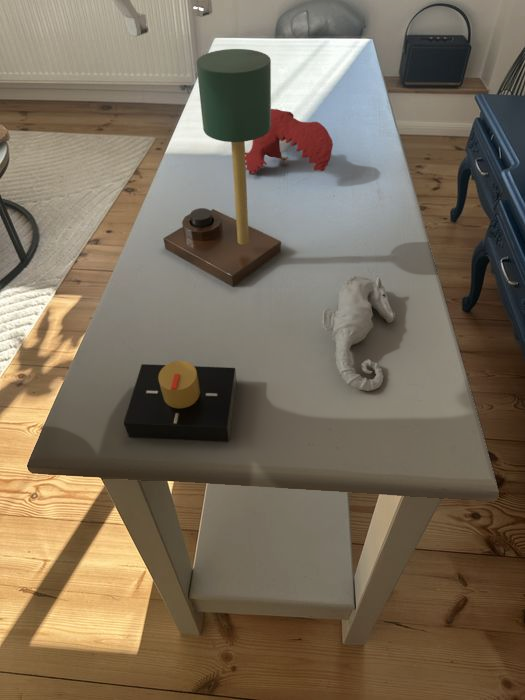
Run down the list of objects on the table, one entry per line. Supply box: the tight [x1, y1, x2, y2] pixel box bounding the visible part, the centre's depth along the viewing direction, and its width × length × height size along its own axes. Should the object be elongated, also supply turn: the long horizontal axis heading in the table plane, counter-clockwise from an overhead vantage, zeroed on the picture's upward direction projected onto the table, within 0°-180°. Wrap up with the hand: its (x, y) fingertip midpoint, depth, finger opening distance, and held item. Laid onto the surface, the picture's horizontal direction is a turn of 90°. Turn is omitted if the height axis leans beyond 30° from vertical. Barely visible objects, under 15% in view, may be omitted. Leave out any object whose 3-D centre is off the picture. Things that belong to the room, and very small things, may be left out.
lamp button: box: [189, 207, 213, 228], centre depth 81 cm, size 4×4×2 cm
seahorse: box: [321, 275, 396, 392], centre depth 66 cm, size 5×12×20 cm
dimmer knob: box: [158, 360, 200, 408], centre depth 56 cm, size 4×4×4 cm
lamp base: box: [163, 208, 282, 287], centre depth 81 cm, size 16×12×4 cm
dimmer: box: [123, 363, 237, 443], centre depth 59 cm, size 12×9×3 cm
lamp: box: [195, 48, 272, 245], centre depth 68 cm, size 9×9×26 cm
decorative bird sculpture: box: [245, 108, 334, 175], centre depth 100 cm, size 28×9×15 cm
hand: (172, 24), depth 55 cm, fingers open, 8 cm apart
